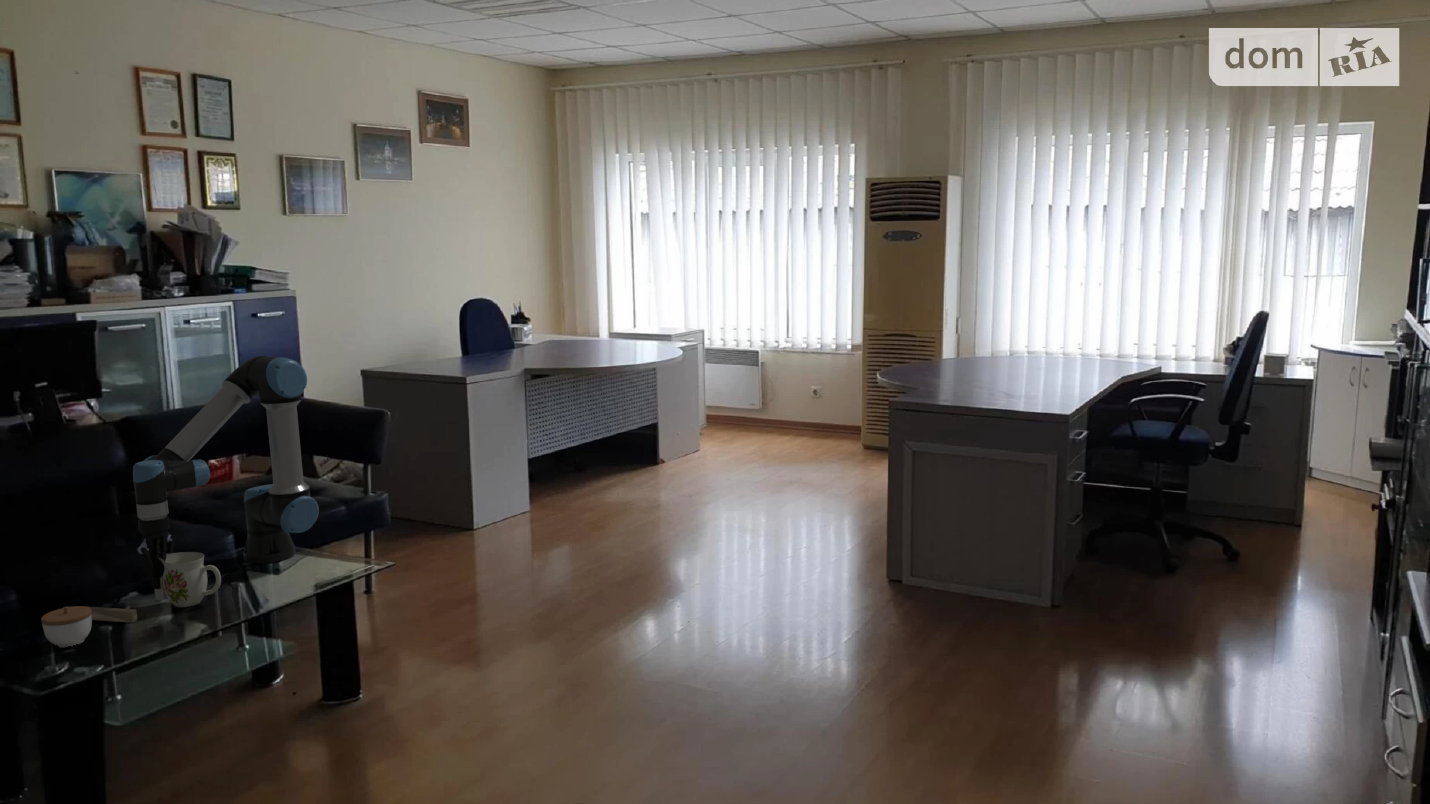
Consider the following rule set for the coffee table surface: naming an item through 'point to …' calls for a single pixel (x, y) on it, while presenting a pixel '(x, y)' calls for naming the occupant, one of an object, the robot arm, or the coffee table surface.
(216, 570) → the pitcher
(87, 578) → the coffee table surface
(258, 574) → the coffee table surface
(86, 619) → the lidded jar
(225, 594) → the coffee table surface
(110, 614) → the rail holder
